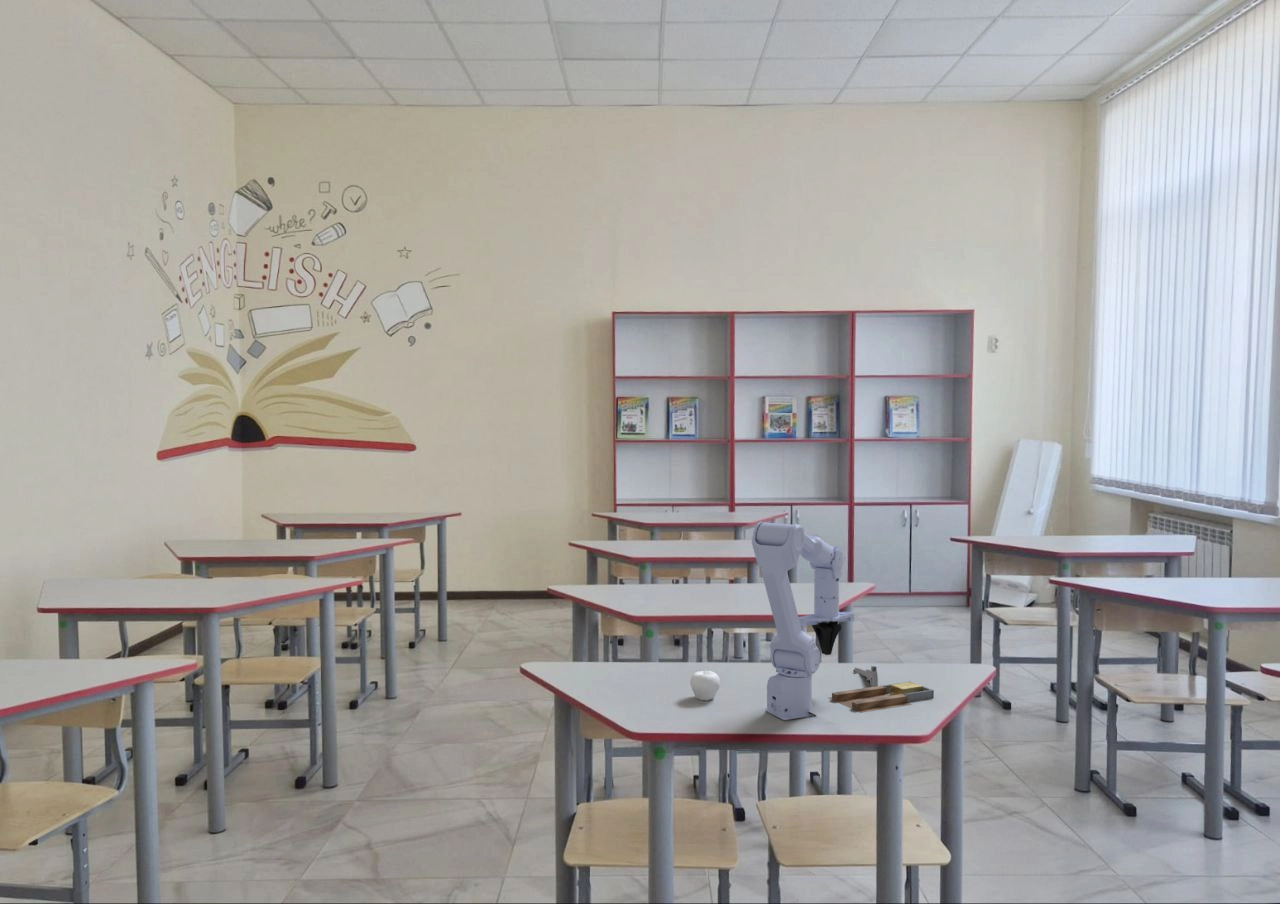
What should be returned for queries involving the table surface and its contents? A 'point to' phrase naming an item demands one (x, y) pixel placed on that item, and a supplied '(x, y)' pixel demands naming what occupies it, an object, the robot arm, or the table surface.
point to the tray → (915, 693)
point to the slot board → (869, 699)
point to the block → (905, 688)
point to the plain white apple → (705, 684)
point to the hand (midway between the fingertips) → (826, 653)
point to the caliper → (869, 674)
